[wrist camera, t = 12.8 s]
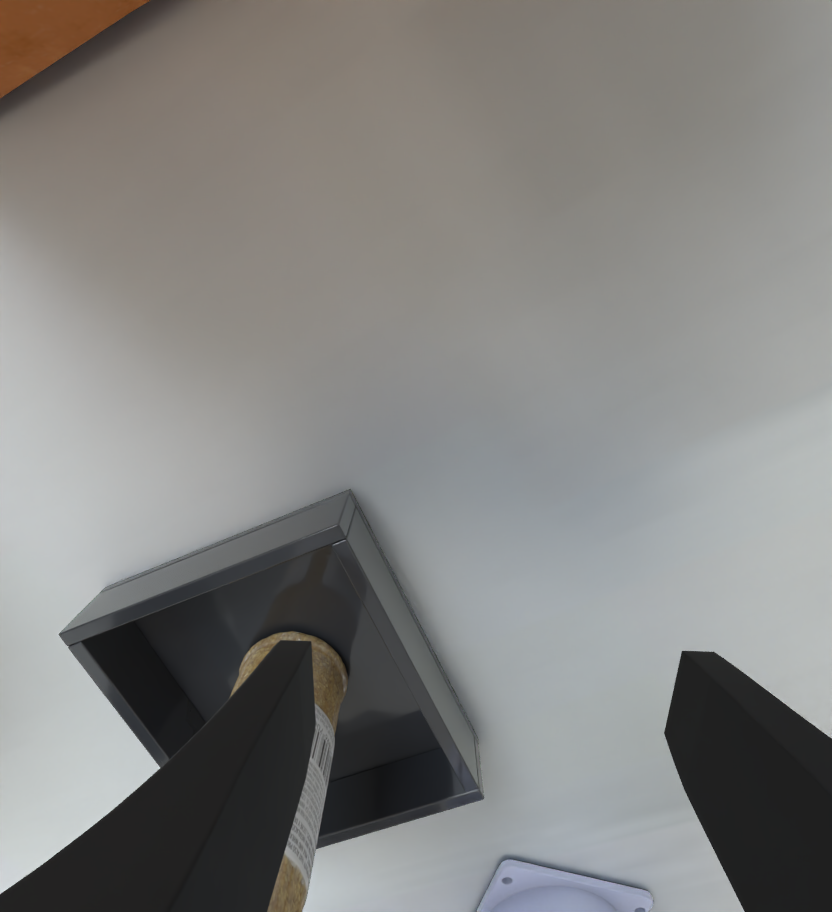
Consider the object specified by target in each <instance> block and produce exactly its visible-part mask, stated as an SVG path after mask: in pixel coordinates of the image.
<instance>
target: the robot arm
mask: <svg viewBox="0 0 832 912" xmlns="http://www.w3.org/2000/svg"><path fill="white" fill-rule="evenodd" d="M315 726H316V716H315V698H314V680H313V662H312V644H311V641H292V640H280V641H279V642H278V643H277V644H276V645H275V646H274V647H273V648H272V649H271V650H270V652H269V653H268V654H267V655H266V656H265V658H264V659H263V660H262V661H261V662H260V664H259V665H258V666H257V667H256V668H255V669H254V671H253V672H252V673H251V674H250V675H249V676H248V678H247V679H246V680H245V681H244V682H243V683H242V684H241V686H240V687H239V688H238V689H237V690H236V691H235V692H234V693H233V695H232V696H231V697H230V698H229V699H228V700H227V701H226V702H225V703H224V704H223V705H222V707H221V708H220V709H219V710H218V711H217V712H216V713H215V714H214V715H213V716H212V717H211V718H210V720H209V721H208V722H207V723H206V724H205V725H204V726H203V727H202V728H201V729H200V730H199V731H198V732H197V733H196V734H195V735H194V736H193V737H192V738H191V739H190V740H189V741H188V742H187V743H186V744H185V745H184V746H183V747H182V748H181V749H180V750H179V751H178V752H177V753H176V754H175V755H174V756H173V757H172V758H171V759H170V760H168V761H167V762H166V763H165V764H164V765H163V766H162V767H161V768H160V769H159V770H158V771H157V772H156V773H155V774H153V775H152V776H151V777H150V778H149V779H148V780H147V781H146V782H145V783H143V784H142V785H141V786H140V787H139V788H138V789H137V790H136V791H134V792H133V793H132V794H131V795H130V796H129V797H127V798H126V799H125V800H124V801H123V802H122V803H120V804H119V805H118V806H117V807H116V808H115V809H113V810H112V811H111V812H110V813H108V814H107V815H106V816H105V817H103V818H102V819H101V820H100V821H98V822H97V823H96V824H95V825H93V826H92V827H91V828H90V829H88V830H87V831H86V832H85V833H83V834H82V835H81V836H79V837H78V838H77V839H75V840H74V841H73V842H71V843H70V844H69V845H68V846H66V847H65V848H64V849H62V850H61V851H60V852H58V853H57V854H56V855H54V856H53V857H52V858H51V859H49V860H48V861H47V862H45V863H44V864H43V865H41V866H40V867H38V868H37V869H36V870H34V871H33V872H31V873H30V874H29V875H27V876H26V877H24V878H23V879H21V880H20V881H19V882H17V883H16V884H14V885H13V886H11V887H10V888H9V889H7V890H6V891H4V892H3V893H1V894H0V912H267V910H268V907H269V904H270V900H271V897H272V893H273V890H274V886H275V883H276V880H277V876H278V873H279V869H280V866H281V863H282V859H283V856H284V852H285V849H286V846H287V842H288V839H289V835H290V832H291V828H292V825H293V822H294V818H295V815H296V811H297V808H298V804H299V801H300V797H301V794H302V790H303V787H304V783H305V780H306V776H307V770H308V765H309V760H310V754H311V749H312V743H313V737H314V731H315ZM664 734H665V737H666V740H667V743H668V746H669V749H670V752H671V755H672V757H673V760H674V763H675V766H676V769H677V771H678V774H679V777H680V779H681V782H682V785H683V787H684V790H685V792H686V794H687V796H688V798H689V800H690V802H691V804H692V806H693V809H694V811H695V813H696V815H697V817H698V819H699V821H700V823H701V825H702V827H703V829H704V831H705V833H706V835H707V837H708V839H709V841H710V843H711V845H712V847H713V849H714V851H715V853H716V855H717V857H718V859H719V861H720V863H721V865H722V867H723V869H724V871H725V873H726V875H727V877H728V879H729V881H730V883H731V885H732V887H733V889H734V891H735V893H736V895H737V897H738V899H739V901H740V903H741V905H742V907H743V909H744V911H745V912H832V739H831V738H830V737H829V736H827V735H826V734H824V733H823V732H822V731H820V730H819V729H818V728H816V727H815V726H814V725H812V724H811V723H809V722H808V721H807V720H805V719H804V718H803V717H801V716H800V715H799V714H797V713H796V712H795V711H793V710H792V709H791V708H789V707H788V706H787V705H785V704H784V703H783V702H781V701H780V700H779V699H777V698H776V697H775V696H773V695H772V694H771V693H769V692H768V691H767V690H766V689H764V688H763V687H762V686H760V685H759V684H758V683H756V682H755V681H754V680H752V679H751V678H750V677H748V676H747V675H746V674H744V673H743V672H742V671H740V670H739V669H738V668H736V667H735V666H733V665H732V664H731V663H729V662H728V661H726V660H725V659H724V658H722V657H721V656H719V655H718V654H716V653H715V652H699V651H682V654H681V658H680V663H679V668H678V672H677V677H676V681H675V686H674V691H673V695H672V700H671V705H670V709H669V714H668V718H667V723H666V728H665V732H664ZM653 904H654V902H653V898H652V896H651V893H650V892H648V891H646V890H643V889H638V888H634V887H630V886H625V885H621V884H616V883H612V882H608V881H603V880H599V879H595V878H590V877H586V876H582V875H577V874H573V873H569V872H564V871H560V870H556V869H551V868H547V867H543V866H538V865H534V864H530V863H525V862H521V861H517V860H512V859H508V860H504V861H503V862H502V863H501V864H500V865H499V867H498V869H497V871H496V873H495V875H494V877H493V879H492V881H491V883H490V885H489V887H488V889H487V891H486V893H485V895H484V897H483V899H482V901H481V903H480V905H479V907H478V909H477V911H476V912H649V911H650V909H651V908H652V906H653Z"/></svg>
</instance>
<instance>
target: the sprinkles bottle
mask: <svg viewBox="0 0 832 912" xmlns="http://www.w3.org/2000/svg"><path fill="white" fill-rule="evenodd" d="M280 640H292V641H311V644H312V662H313V680H314V698H315V716H316V726H315V731H314V737H313V743H312V749H311V754H310V760H309V765H308V770H307V776H306V780H305V783H304V787H303V790H302V794H301V797H300V801H299V804H298V808H297V811H296V815H295V818H294V822H293V825H292V828H291V832H290V835H289V839H288V842H287V846H286V849H285V852H284V856H283V859H282V863H281V866H280V869H279V873H278V876H277V880H276V883H275V886H274V890H273V893H272V897H271V900H270V904H269V907H268V910H267V912H302V909H303V907H304V905H305V902H306V898H307V894H308V888H309V883H310V878H311V872H312V867H313V862H314V856H315V851H316V845H317V840H318V835H319V829H320V824H321V819H322V813H323V808H324V803H325V797H326V792H327V786H328V780H329V774H330V769H331V763H332V758H333V752H334V746H335V737H334V736H335V732H336V726H337V721H338V713H339V709H340V704H341V702H342V701H343V699H344V696H345V694H346V691H347V685H348V676H347V672H346V667H345V665H344V663H343V662H342V659H341V657H340V656H339V655H338V653H337V652H336V651H335V650H334V649H333V648H332V647H331V646H330V645H329V644H327V643H326V642H324V641H323V640H321V639H319V638H317V637H315V636H311V635H307V634H304V633H300V632H294V631H290V632H280V633H276V634H273V635H271V636H269V637H267V638H265V639H262V640H260V641H259V642H257V643H256V644H255V645H254V646H252V647H251V649H250V650H249V651H248V652H247V654H246V655H245V657H244V659H243V661H242V663H241V666H240V669H239V677H238V679H237V681H236V683H235V686H234V688H233V690H232V693H231V696H232V695H233V693H234V692H235V691H236V690H237V689H238V688H239V687H240V686H241V684H242V683H243V682H244V681H245V680H246V679H247V678H248V676H249V675H250V674H251V673H252V672H253V671H254V669H255V668H256V667H257V666H258V665H259V664H260V662H261V661H262V660H263V659H264V658H265V656H266V655H267V654H268V653H269V652H270V650H271V649H272V648H273V647H274V646H275V645H276V644H277V643H278V642H279V641H280ZM231 696H230V697H231ZM230 697H229V698H230Z"/></svg>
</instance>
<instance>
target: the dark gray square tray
mask: <svg viewBox="0 0 832 912" xmlns="http://www.w3.org/2000/svg"><path fill="white" fill-rule="evenodd" d="M290 631H294V632H300V633H304V634H307V635H311V636H315V637H317V638H319V639H321V640H323V641H324V642H326V643H327V644H329V645H330V646H331V647H332V648H333V649H334V650H335V651H336V652H337V653H338V655H339V656H340V657H341V659H342V662H343V663H344V665H345V667H346V672H347V676H348V685H347V691H346V694H345V696H344V699H343V701H342V702H341V704H340V709H339V713H338V721H337V726H336V732H335V736H334V737H335V746H334V752H333V758H332V763H331V769H330V774H329V780H328V786H327V792H326V797H325V803H324V808H323V813H322V819H321V824H320V829H319V835H318V840H317V845H316V849H318V848H321V847H325V846H328V845H331V844H335V843H338V842H342V841H345V840H348V839H352V838H355V837H358V836H362V835H365V834H369V833H372V832H375V831H379V830H382V829H385V828H389V827H392V826H396V825H399V824H402V823H406V822H409V821H412V820H416V819H419V818H423V817H426V816H429V815H433V814H436V813H439V812H443V811H446V810H450V809H453V808H456V807H460V806H463V805H466V804H470V803H473V802H477V801H480V800H483V799H484V791H483V782H482V773H481V763H480V754H479V746H478V745H479V743H478V737H477V735H476V733H475V731H474V729H473V728H472V726H471V724H470V722H469V720H468V718H467V716H466V714H465V712H464V710H463V708H462V706H461V704H460V702H459V700H458V698H457V696H456V694H455V692H454V690H453V688H452V686H451V684H450V683H449V681H448V679H447V677H446V675H445V673H444V671H443V669H442V667H441V665H440V663H439V661H438V659H437V657H436V655H435V653H434V651H433V649H432V647H431V645H430V643H429V641H428V639H427V638H426V636H425V634H424V632H423V630H422V628H421V626H420V624H419V622H418V620H417V618H416V616H415V614H414V612H413V610H412V608H411V606H410V604H409V602H408V600H407V598H406V596H405V594H404V593H403V591H402V589H401V587H400V585H399V583H398V581H397V579H396V577H395V575H394V573H393V571H392V569H391V567H390V565H389V563H388V561H387V559H386V557H385V555H384V553H383V551H382V549H381V548H380V546H379V544H378V542H377V540H376V538H375V536H374V534H373V532H372V530H371V528H370V526H369V524H368V522H367V520H366V518H365V516H364V514H363V512H362V510H361V508H360V506H359V504H358V503H357V501H356V499H355V497H354V495H353V493H352V491H351V489H349V490H346V491H344V492H342V493H339V494H337V495H334V496H332V497H329V498H327V499H324V500H322V501H319V502H317V503H314V504H312V505H309V506H307V507H304V508H302V509H299V510H297V511H294V512H292V513H289V514H287V515H284V516H282V517H279V518H277V519H274V520H272V521H269V522H267V523H264V524H262V525H259V526H257V527H255V528H252V529H250V530H247V531H245V532H242V533H240V534H237V535H235V536H232V537H230V538H227V539H225V540H222V541H220V542H217V543H215V544H212V545H210V546H207V547H205V548H202V549H200V550H197V551H195V552H192V553H190V554H187V555H185V556H182V557H180V558H177V559H175V560H173V561H170V562H168V563H165V564H163V565H160V566H158V567H155V568H153V569H150V570H148V571H145V572H143V573H140V574H138V575H135V576H133V577H130V578H128V579H125V580H123V581H120V582H118V583H115V584H113V585H110V586H108V587H105V588H104V589H103V590H102V591H101V592H100V593H99V594H98V595H97V596H96V597H95V598H94V599H93V600H92V601H91V602H90V603H89V604H88V605H87V606H86V607H85V608H84V609H83V610H82V611H81V612H80V613H79V614H78V615H77V616H76V617H75V618H74V619H73V620H72V621H71V622H70V623H69V624H68V625H67V626H66V627H65V628H64V629H63V630H62V631H61V632H60V633H59V636H60V637H61V639H62V640H63V641H64V643H65V644H66V645H67V646H69V647H68V648H69V650H70V651H71V652H72V653H73V655H74V656H75V657H76V659H77V660H78V661H79V663H80V664H81V665H82V666H83V668H84V669H85V670H86V672H87V673H88V674H89V676H90V677H91V678H92V679H93V681H94V682H95V683H96V685H97V686H98V687H99V689H100V690H101V691H102V692H103V694H104V695H105V696H106V698H107V699H108V700H109V702H110V703H111V704H112V705H113V707H114V708H115V709H116V711H117V712H118V713H119V715H120V716H121V717H122V718H123V720H124V721H125V722H126V724H127V725H128V726H129V728H130V729H131V730H132V731H133V733H134V734H135V735H136V737H137V738H138V739H139V741H140V742H141V743H142V744H143V746H144V747H145V748H146V750H147V751H148V752H149V754H150V755H151V756H152V757H153V759H154V760H155V761H156V763H157V764H158V765H159V767H160V768H161V767H162V766H163V765H164V764H165V763H166V762H167V761H168V760H170V759H171V758H172V757H173V756H174V755H175V754H176V753H177V752H178V751H179V750H180V749H181V748H182V747H183V746H184V745H185V744H186V743H187V742H188V741H189V740H190V739H191V738H192V737H193V736H194V735H195V734H196V733H197V732H198V731H199V730H200V729H201V728H202V727H203V726H204V725H205V724H206V723H207V722H208V721H209V720H210V718H211V717H212V716H213V715H214V714H215V713H216V712H217V711H218V710H219V709H220V708H221V707H222V705H223V704H224V703H225V702H226V701H227V700H228V699H229V697H230V696H231V693H232V690H233V688H234V686H235V683H236V681H237V679H238V677H239V669H240V666H241V663H242V661H243V659H244V657H245V655H246V654H247V652H248V651H249V650H250V649H251V647H252V646H254V645H255V644H256V643H257V642H259V641H260V640H262V639H265V638H267V637H269V636H271V635H273V634H276V633H280V632H290Z"/></svg>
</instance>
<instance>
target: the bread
mask: <svg viewBox="0 0 832 912" xmlns="http://www.w3.org/2000/svg"><path fill="white" fill-rule="evenodd" d="M149 1H150V0H0V98H2V97H3V96H5V95H6V94H8V93H9V92H11V91H12V90H14V89H15V88H17V87H18V86H20V85H21V84H23V83H24V82H26V81H27V80H29V79H30V78H32V77H33V76H35V75H36V74H38V73H39V72H41V71H42V70H44V69H45V68H47V67H49V66H50V65H52V64H53V63H55V62H56V61H58V60H59V59H61V58H62V57H64V56H65V55H67V54H68V53H70V52H71V51H73V50H74V49H76V48H77V47H79V46H80V45H82V44H83V43H85V42H86V41H88V40H90V39H91V38H93V37H94V36H96V35H97V34H99V33H100V32H102V31H103V30H105V29H106V28H108V27H109V26H111V25H112V24H114V23H115V22H117V21H118V20H120V19H121V18H123V17H124V16H126V15H127V14H129V13H131V12H132V11H134V10H135V9H137V8H139V7H140V6H142V5H144V4H145V3H147V2H149Z"/></svg>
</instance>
